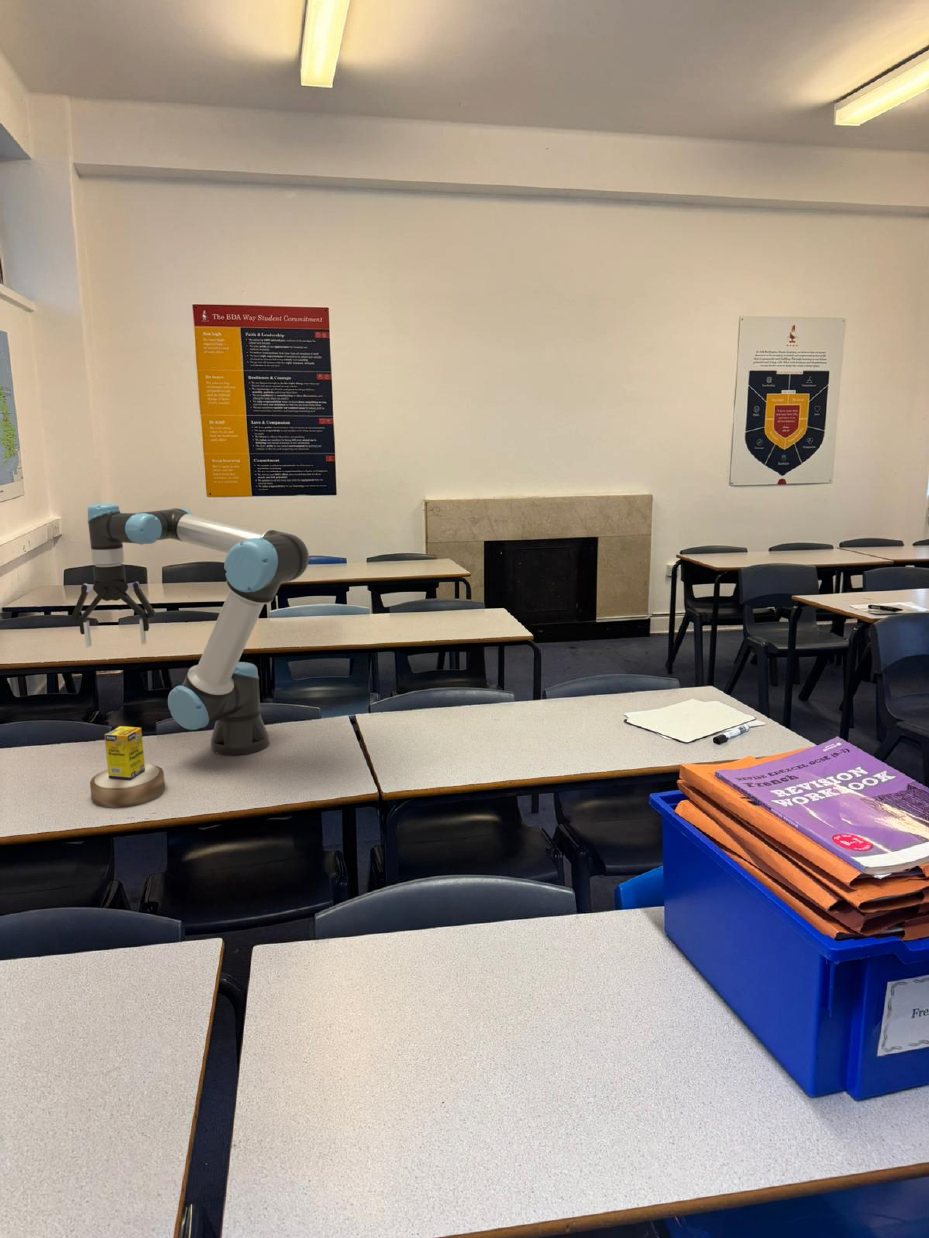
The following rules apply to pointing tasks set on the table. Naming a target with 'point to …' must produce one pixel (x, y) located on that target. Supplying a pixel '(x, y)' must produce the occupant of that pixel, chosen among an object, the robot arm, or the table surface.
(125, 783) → the podium
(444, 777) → the table surface
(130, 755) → the supplement box
